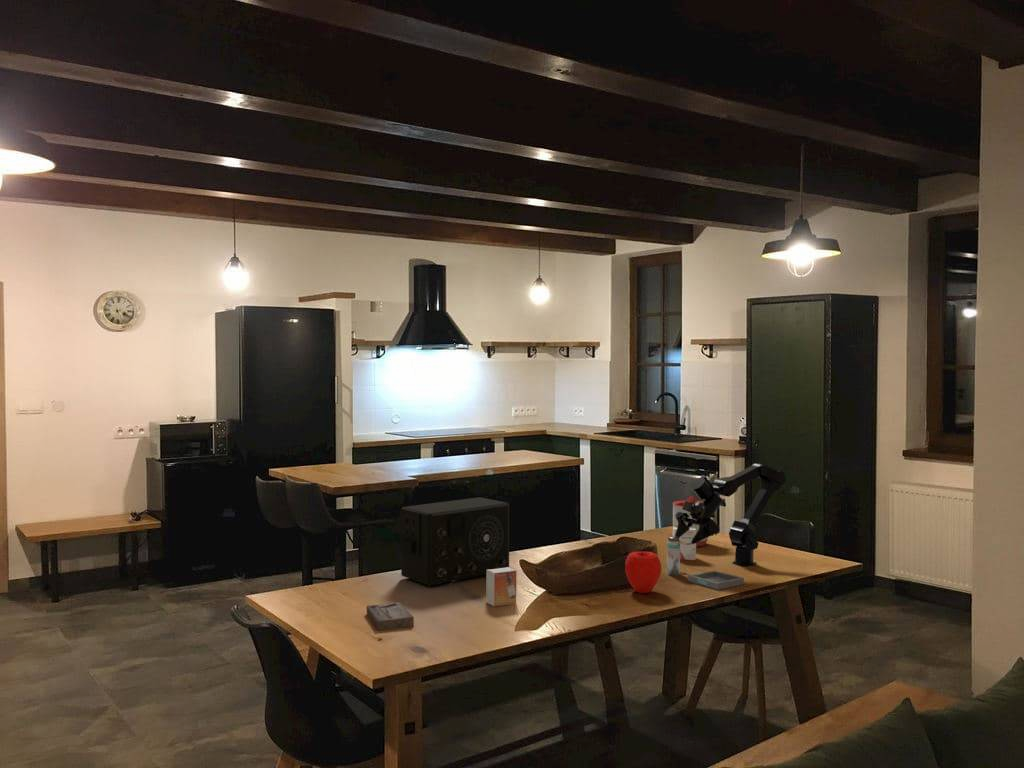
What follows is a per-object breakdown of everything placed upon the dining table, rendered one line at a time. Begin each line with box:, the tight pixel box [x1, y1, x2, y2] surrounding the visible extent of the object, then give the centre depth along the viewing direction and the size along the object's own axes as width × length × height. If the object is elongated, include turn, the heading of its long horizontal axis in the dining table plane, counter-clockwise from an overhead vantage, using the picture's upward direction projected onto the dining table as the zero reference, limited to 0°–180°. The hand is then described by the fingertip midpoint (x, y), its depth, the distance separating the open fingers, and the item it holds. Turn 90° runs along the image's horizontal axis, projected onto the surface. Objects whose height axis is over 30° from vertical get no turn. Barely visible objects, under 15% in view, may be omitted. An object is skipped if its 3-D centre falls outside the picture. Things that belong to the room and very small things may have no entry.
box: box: [366, 601, 415, 631], centre depth 252 cm, size 11×17×3 cm, turn 20°
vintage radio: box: [399, 496, 510, 588], centre depth 303 cm, size 38×20×25 cm, turn 130°
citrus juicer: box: [672, 495, 716, 547], centre depth 357 cm, size 16×17×20 cm
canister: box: [666, 535, 681, 577], centre depth 307 cm, size 5×5×13 cm
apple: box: [624, 550, 662, 594], centre depth 284 cm, size 12×12×13 cm
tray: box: [687, 569, 745, 591], centre depth 295 cm, size 13×13×2 cm
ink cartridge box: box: [672, 519, 697, 561], centre depth 331 cm, size 9×5×15 cm, turn 84°
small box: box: [485, 566, 517, 607], centre depth 270 cm, size 8×6×10 cm
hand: (683, 540), depth 309 cm, fingers open, 9 cm apart
